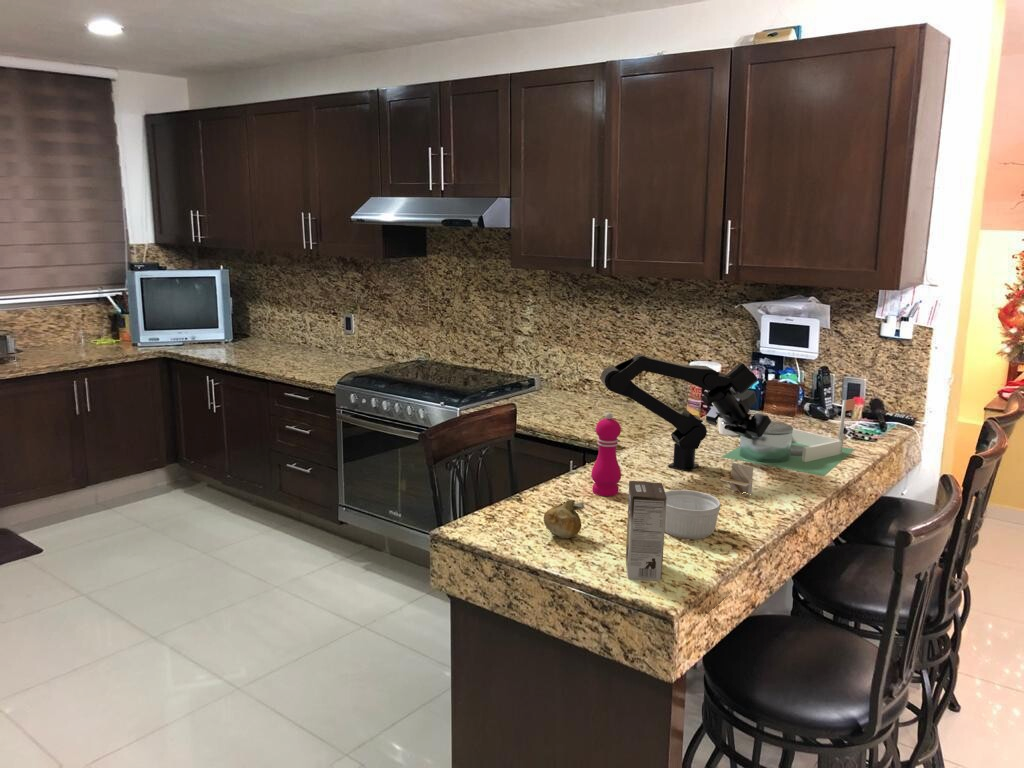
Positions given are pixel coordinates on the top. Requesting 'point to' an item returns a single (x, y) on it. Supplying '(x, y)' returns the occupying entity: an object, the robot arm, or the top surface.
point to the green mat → (800, 461)
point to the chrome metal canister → (769, 444)
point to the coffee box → (645, 530)
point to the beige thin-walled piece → (820, 440)
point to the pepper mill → (606, 458)
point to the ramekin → (690, 514)
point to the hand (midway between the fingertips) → (749, 437)
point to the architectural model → (740, 478)
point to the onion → (564, 519)
